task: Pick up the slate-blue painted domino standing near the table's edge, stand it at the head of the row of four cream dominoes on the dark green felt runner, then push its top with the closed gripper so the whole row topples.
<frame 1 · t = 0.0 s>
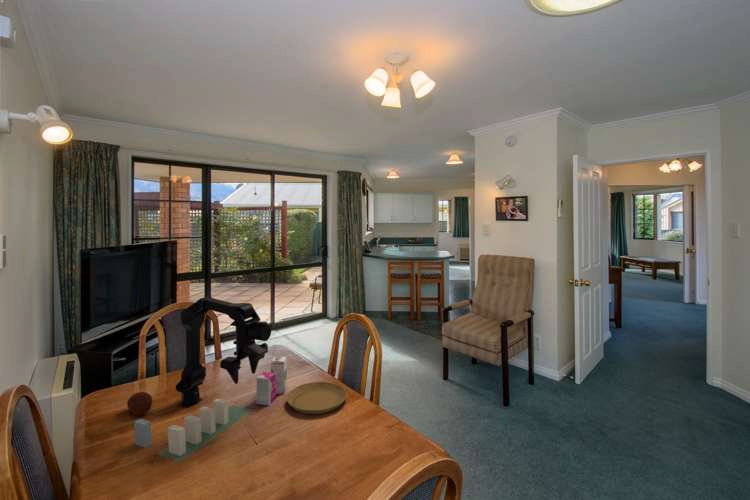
hand: (245, 378, 130), 15 cm above the table, fingers open, 9 cm apart
plant saucer: (317, 402, 142), on the table
domino 3: (207, 431, 121), resting on felt runner
supplement box: (266, 403, 141), on the table
syrup box: (279, 391, 151), on the table
domino 4: (193, 441, 115), resting on felt runner
domino 2: (221, 422, 127), resting on felt runner
domino 5: (177, 452, 110), resting on felt runner
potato: (141, 412, 134), on the table
felt runner: (210, 430, 122), on the table
slate domino: (143, 445, 114), on the table
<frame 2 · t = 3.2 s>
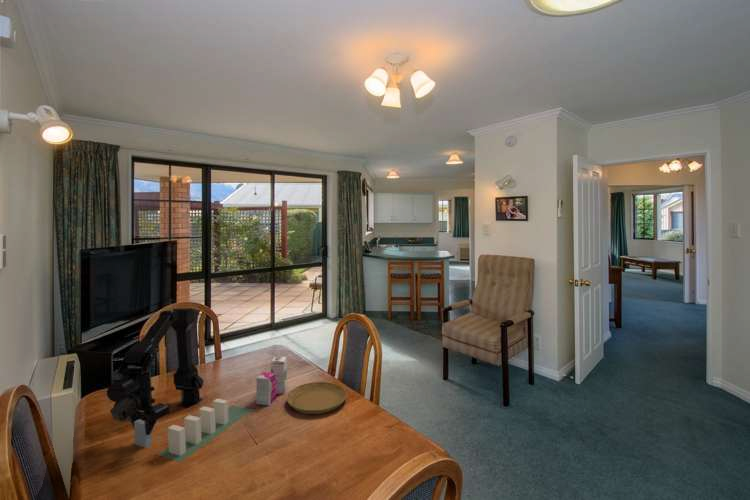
hand: (143, 432, 114), 4 cm above the table, fingers closed on slate domino, 5 cm apart
slate domino: (143, 445, 114), on the table, touching gripper
everything else where it was.
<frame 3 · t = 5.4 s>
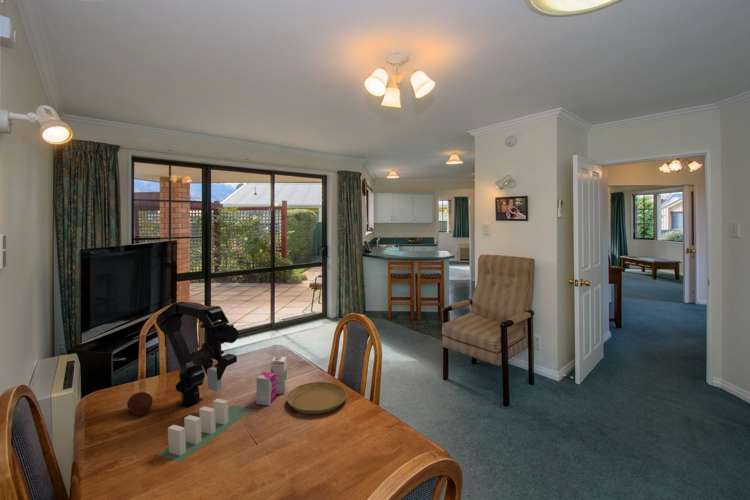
hand: (214, 378, 135), 12 cm above the table, fingers closed on slate domino, 5 cm apart
slate domino: (214, 389, 135), point 8 cm above the table, touching gripper
everything else where it was.
when the fingers open (5 cm above the table, at t = 7.9 s): slate domino stays where it is, resting on felt runner.
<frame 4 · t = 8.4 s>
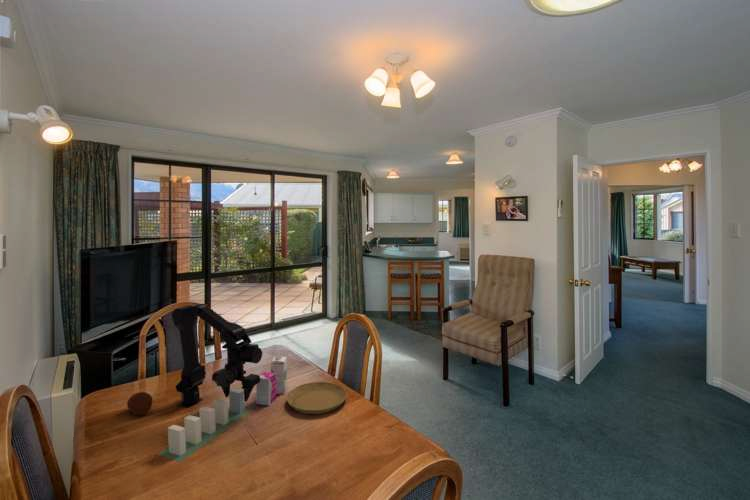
hand: (236, 399, 134), 5 cm above the table, fingers open, 9 cm apart
slate domino: (236, 411, 134), resting on felt runner
everything else where it was.
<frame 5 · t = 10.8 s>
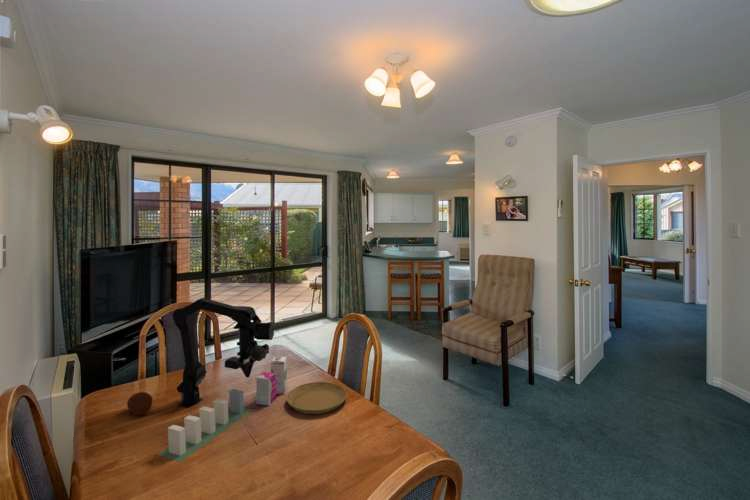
hand: (247, 377, 139), 11 cm above the table, fingers closed
nothing on the table moved.
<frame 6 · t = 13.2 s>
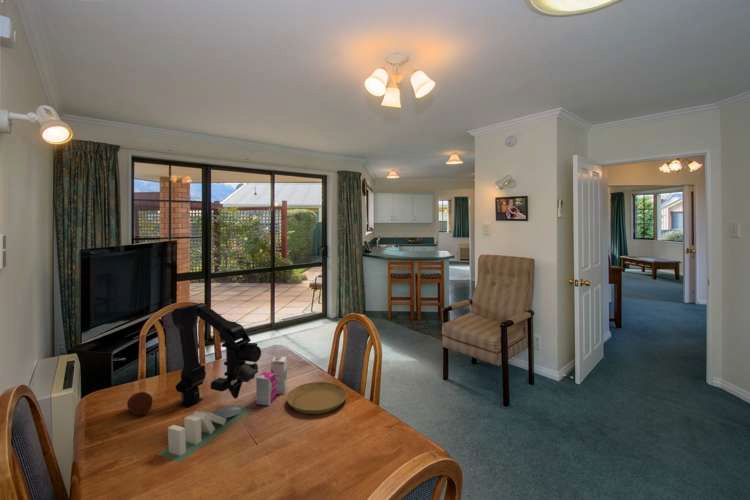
hand: (235, 398, 133), 6 cm above the table, fingers closed
domino 3: (207, 430, 121), point 1 cm above the table, tilted 24°, touching felt runner
domino 2: (220, 420, 126), point 1 cm above the table, tilted 49°, touching felt runner
slate domino: (235, 409, 133), point 1 cm above the table, tilted 73°, touching felt runner
everything else where it was.
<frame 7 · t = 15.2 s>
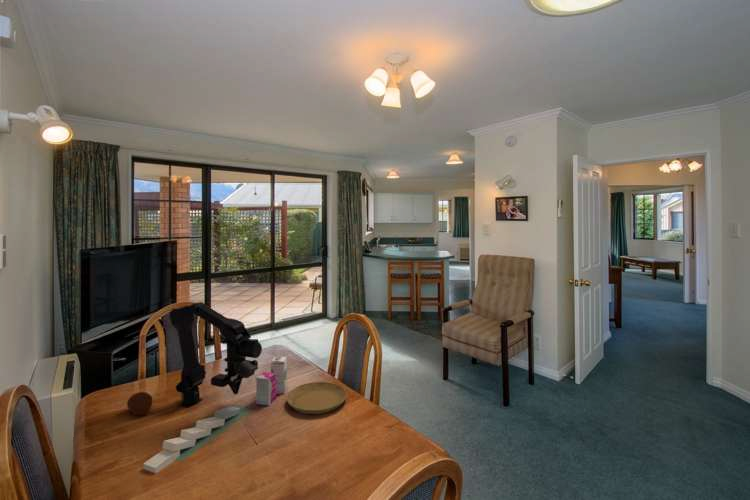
hand: (235, 394, 135), 7 cm above the table, fingers closed
domino 3: (205, 430, 120), point 1 cm above the table, tilted 71°, touching domino 2, domino 4, felt runner
domino 4: (189, 440, 114), point 1 cm above the table, tilted 69°, touching domino 3, domino 5, felt runner
domino 2: (219, 421, 126), point 1 cm above the table, tilted 71°, touching domino 3, felt runner, slate domino
domino 5: (174, 451, 109), point 1 cm above the table, tilted 93°, touching domino 4, felt runner
slate domino: (235, 409, 133), point 1 cm above the table, tilted 76°, touching domino 2, felt runner
everything else where it was.
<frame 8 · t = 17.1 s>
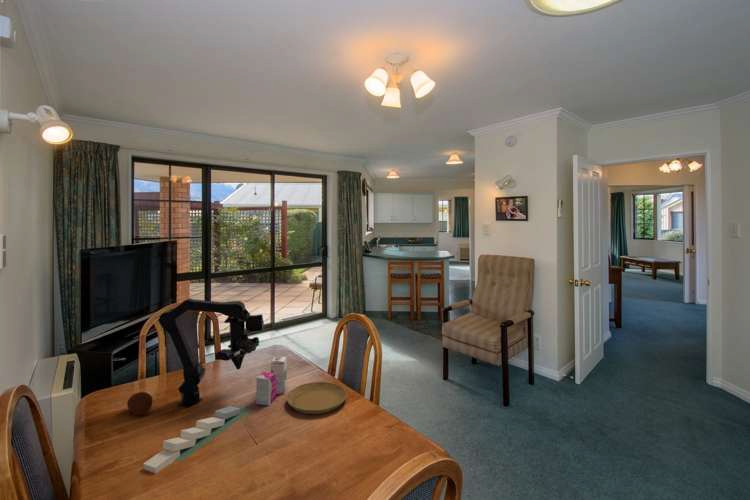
hand: (238, 369, 144), 12 cm above the table, fingers closed
nothing on the table moved.
at the end: domino 5 tilted 93°; domino 3 tilted 71°; the gripper is holding nothing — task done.
